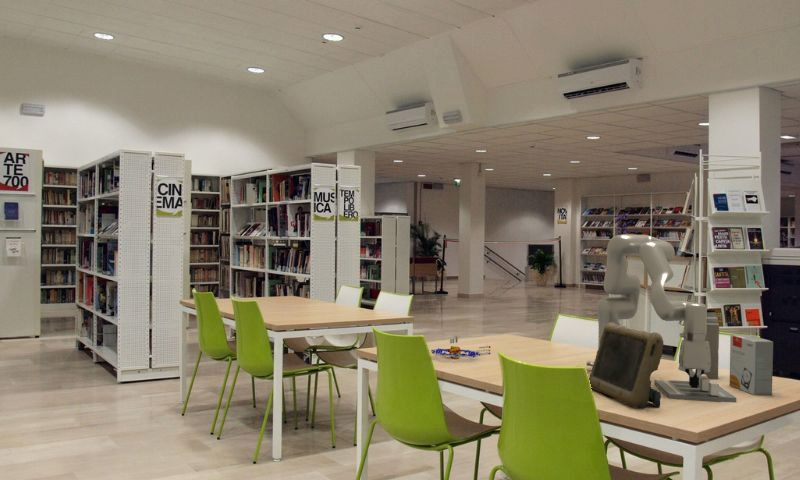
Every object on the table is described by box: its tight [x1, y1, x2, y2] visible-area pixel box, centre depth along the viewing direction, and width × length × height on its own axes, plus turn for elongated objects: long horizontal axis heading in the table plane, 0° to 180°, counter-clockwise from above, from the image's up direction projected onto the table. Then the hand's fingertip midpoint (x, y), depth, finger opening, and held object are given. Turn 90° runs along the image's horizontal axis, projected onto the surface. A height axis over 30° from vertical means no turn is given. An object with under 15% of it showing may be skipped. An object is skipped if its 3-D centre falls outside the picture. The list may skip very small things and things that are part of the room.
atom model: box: [428, 335, 492, 360], centre depth 304 cm, size 35×26×10 cm
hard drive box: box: [729, 334, 774, 396], centre depth 246 cm, size 16×8×20 cm, turn 5°
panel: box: [654, 379, 737, 403], centre depth 240 cm, size 22×25×2 cm
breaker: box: [708, 381, 720, 396], centre depth 229 cm, size 3×3×4 cm
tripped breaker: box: [699, 377, 711, 391], centre depth 236 cm, size 3×3×4 cm
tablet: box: [588, 322, 664, 410], centre depth 231 cm, size 33×14×25 cm, turn 16°
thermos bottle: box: [703, 308, 720, 380], centre depth 270 cm, size 8×8×28 cm
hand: (693, 387), depth 237 cm, fingers closed
